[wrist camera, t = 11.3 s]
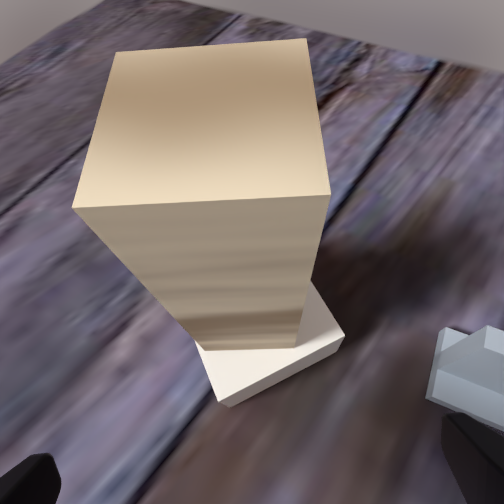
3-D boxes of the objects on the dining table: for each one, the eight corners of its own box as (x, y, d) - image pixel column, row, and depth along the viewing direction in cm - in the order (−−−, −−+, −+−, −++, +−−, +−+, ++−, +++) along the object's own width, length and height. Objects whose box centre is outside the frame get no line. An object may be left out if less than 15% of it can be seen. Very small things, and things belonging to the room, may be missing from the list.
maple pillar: (293, 348, 17) (331, 194, 6) (204, 350, 17) (72, 207, 6) (288, 266, 19) (306, 37, 8) (208, 270, 19) (116, 52, 8)
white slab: (335, 352, 20) (345, 335, 17) (231, 407, 19) (218, 401, 16) (282, 262, 24) (280, 232, 20) (190, 305, 23) (172, 282, 19)
